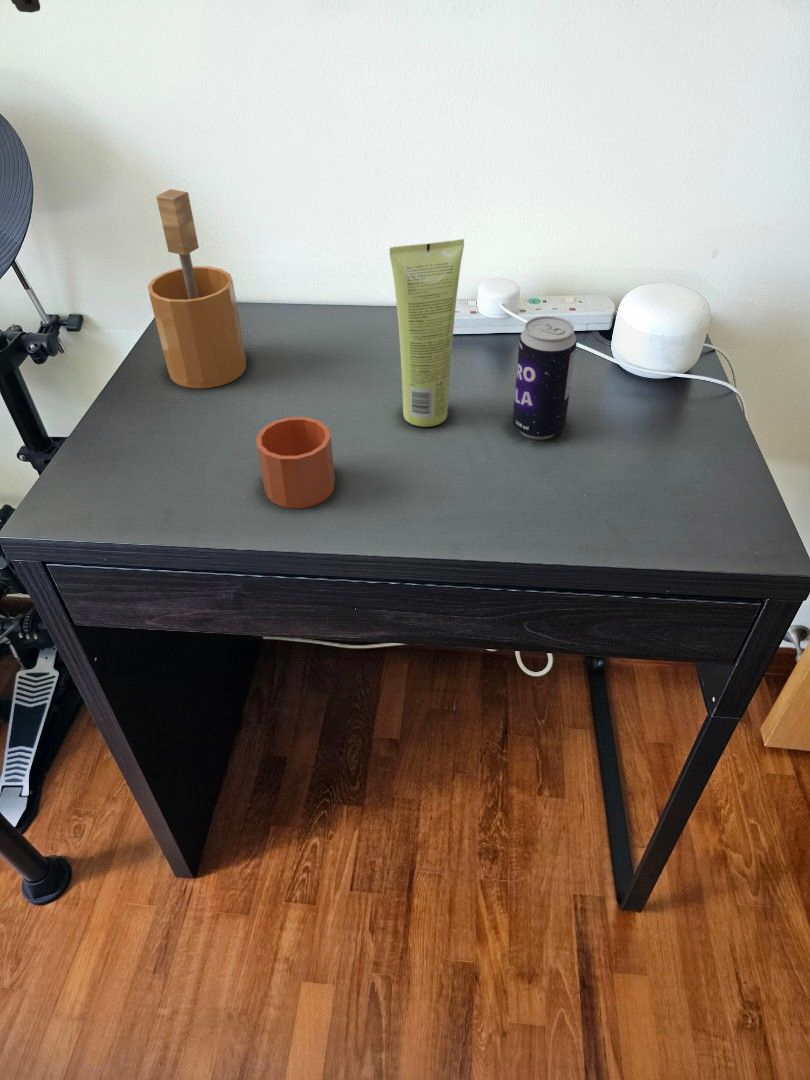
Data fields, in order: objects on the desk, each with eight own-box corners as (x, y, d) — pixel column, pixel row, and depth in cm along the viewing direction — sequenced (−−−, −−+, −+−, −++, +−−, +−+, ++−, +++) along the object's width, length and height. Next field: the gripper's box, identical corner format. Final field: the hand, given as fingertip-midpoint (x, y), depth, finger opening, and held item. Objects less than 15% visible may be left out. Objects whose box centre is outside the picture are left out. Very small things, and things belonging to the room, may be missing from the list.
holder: (311, 516, 76) (305, 466, 72) (250, 496, 78) (241, 446, 74) (348, 476, 80) (344, 427, 76) (289, 458, 83) (282, 410, 79)
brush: (210, 375, 95) (175, 203, 81) (181, 367, 96) (141, 197, 83) (232, 358, 97) (201, 190, 84) (203, 351, 99) (169, 184, 86)
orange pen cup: (215, 395, 93) (197, 307, 85) (152, 378, 96) (130, 291, 88) (261, 359, 99) (248, 274, 91) (201, 344, 102) (183, 260, 95)
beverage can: (528, 408, 89) (538, 309, 81) (573, 424, 87) (588, 323, 79) (502, 432, 86) (510, 330, 78) (548, 449, 83) (561, 346, 75)
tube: (420, 397, 91) (420, 227, 78) (458, 409, 89) (464, 237, 76) (394, 421, 88) (388, 247, 75) (433, 434, 86) (434, 257, 73)
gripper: (35, -249, 65) (91, -10, 76) (-119, -261, 55) (-30, 14, 66) (105, -255, 62) (152, -6, 73) (-45, -268, 53) (35, 19, 64)
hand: (66, 3), depth 70 cm, fingers open, 8 cm apart
